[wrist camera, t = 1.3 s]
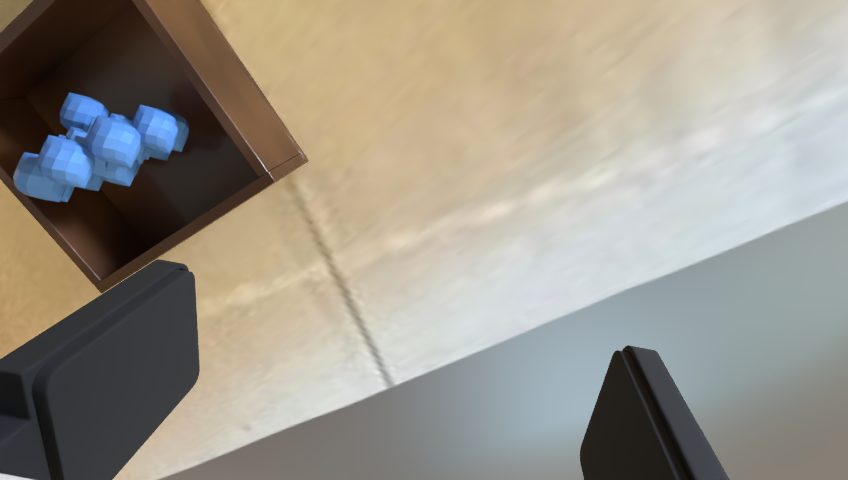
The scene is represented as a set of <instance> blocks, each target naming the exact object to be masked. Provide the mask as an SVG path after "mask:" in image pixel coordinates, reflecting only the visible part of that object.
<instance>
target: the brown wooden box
mask: <svg viewBox="0 0 848 480" xmlns="http://www.w3.org/2000/svg"><path fill="white" fill-rule="evenodd" d="M69 92H70V93H74V94H79V95H83V96H86V97H90V98H92V99H95V100H97V101H99V102H101V103H102V104H103V105H104V106H105V107H106V108H107V110H108V111H109V117H110V115H111V113H113V114H118V115H120V114H122V115H125V116H129V117H131V118H134V116H135V114H136V112H137V110H138V108H139V106H140V105H144V106H148V107H152V108H155V107H156V108H160V109H164V110H168V111H172V112H174V113H176V114H179V115H181V116H182V117H183V118H185V119H186V121H187V122H188V124H189V134H188V139H187V141H186V143H185V145H184V147H183V150H182V152H179V151H174V150H172V151H171V153H170V156H169V158H168V160H167V161H165V160H160V159H156V158H152V157H149V159H148V160H146V159H144V161H143V163H142V164H141V166H140V168H139V170H138V172H137V174H136V176H135V177H134V179H133V181H132V183H131V185H130V187H129V186H123V185H118V184H115V183H111V182H108V181H103V183H102V185H101V187H100V189H99V191H94V190H88V189H84V188H79V187H75V188H74V190H73V192H72V195H71V197H70V198H69V200H68V202H63V201H60V202H55V201H48V200H43V199H39V198H35V197H31V196H28V195H25V194H24V193H22V192H21V191H19V190H18V189H17V188H16V186H15V185H14V180H13V176H14V173H15V170H16V168H17V165H18V163H19V160H20V159H21V157H22V155H23V154H24V152H27V153H33V154H38V155H39V154H40V152H41V149H42V147H43V144H44V142H45V141H46V139H47V137H48V136H49V135H52V136H57V137H59V134H60V135H63V136H66V134H67V132H68V130H67V129H66V128H65V127H64V126H63V125H62V124H61V123H60V111H61V108H62V106H63V103H64V101H65V99H66V97H67V96H68V94H69ZM306 162H308V159H307V158H306V156H305V155H304V153H303V152H302V150H301V149H300V147H299V146H298V144H297V143H296V141H295V140H294V139H293V137H292V136H291V134H290V133H289V131H288V130H287V128H286V127H285V125H284V124H283V122H282V121H281V119H280V118H279V117H278V115H277V114H276V112H275V111H274V109H273V108H272V106H271V105H270V103H269V102H268V100H267V99H266V97H265V96H264V94H263V93H262V92H261V90H260V89H259V87H258V86H257V84H256V83H255V81H254V80H253V78H252V77H251V75H250V74H249V72H248V71H247V70H246V68H245V67H244V65H243V64H242V62H241V61H240V59H239V58H238V56H237V55H236V53H235V52H234V50H233V49H232V47H231V46H230V45H229V43H228V42H227V40H226V39H225V37H224V36H223V34H222V33H221V31H220V30H219V28H218V27H217V25H216V24H215V23H214V21H213V20H212V18H211V17H210V15H209V14H208V12H207V11H206V9H205V8H204V6H203V5H202V3H201V2H200V1H199V0H34V1H33V2H32V3H31V4H30V5H29V6H28V7H27V8H26V9H25V10H23V11H22V12H21V13H20V14H19V15H18V16H17V17H16V18H15V19H14V20H13V21H12V22H11V23H10V24H9V25H8V26H7V27H6V28H5V29H4V30H3V31H2V32H1V33H0V179H1V180H2V181H3V183H4V184H5V185H6V186H7V187H8V188H9V189H10V190H11V192H12V193H13V194H14V195H15V196H16V197H17V198H18V200H19V201H20V202H21V203H22V204H23V205H24V206H25V207H26V209H27V210H28V211H29V212H30V213H31V214H32V215H33V216H34V218H35V219H36V220H37V221H38V222H39V223H40V224H41V226H42V227H43V228H44V229H45V230H46V231H47V232H48V233H49V235H50V236H51V237H52V238H53V239H54V240H55V241H56V243H57V244H58V245H59V246H60V247H61V248H62V249H63V250H64V252H65V253H66V254H67V255H68V256H69V257H70V258H71V259H72V261H73V262H74V263H75V264H76V265H77V266H78V267H79V269H80V270H81V271H82V272H83V273H84V274H85V275H86V276H87V278H88V279H89V280H90V281H91V282H92V283H93V284H94V285H95V287H96V288H97V289H98V290H99V291H100V292H101V293H103V292H105V291H106V290H108V289H110V288H111V287H113V286H114V285H116V284H117V283H119V282H121V281H122V280H124V279H125V278H127V277H128V276H130V275H132V274H133V273H135V272H136V271H138V270H139V269H141V268H143V267H144V266H146V265H147V264H149V263H150V262H152V261H154V260H155V259H157V258H158V257H160V256H161V255H163V254H164V253H166V252H168V251H169V250H171V249H172V248H174V247H175V246H177V245H178V244H180V243H182V242H183V241H185V240H186V239H188V238H189V237H191V236H193V235H194V234H196V233H197V232H199V231H200V230H202V229H203V228H205V227H207V226H208V225H210V224H211V223H213V222H214V221H216V220H217V219H219V218H221V217H222V216H224V215H225V214H227V213H228V212H230V211H231V210H233V209H235V208H236V207H238V206H239V205H241V204H242V203H244V202H245V201H247V200H249V199H250V198H252V197H253V196H255V195H256V194H258V193H260V192H261V191H263V190H264V189H266V188H267V187H269V186H270V185H272V184H274V183H275V182H277V181H278V180H280V179H281V178H283V177H284V176H286V175H288V174H289V173H291V172H292V171H294V170H295V169H297V168H298V167H300V166H302V165H303V164H305V163H306Z"/></svg>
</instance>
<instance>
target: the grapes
mask: <svg viewBox="0 0 848 480" xmlns="http://www.w3.org/2000/svg"><path fill="white" fill-rule="evenodd" d="M60 123H61V124H62V125H63V126H64V127H65V128H66V129H67V130H68V132H67V134H66V136H63V135H60V134H59V137H57V136H52V135H49V136H48V137H47V139H46V141H45V142H44V144H43V147H42V149H41V152H40V154H39V155H38V154H33V153H27V152H24V154H23V155H22V157H21V159H20V160H19V163H18V165H17V168H16V170H15V173H14V176H13V180H14V185H15V186H16V188H17V189H18V190H19V191H21V192H22V193H24V194H25V195H28V196H31V197H35V198H39V199H43V200H48V201H55V202H60V201H63V202H68V200H69V198H70V197H71V195H72V192H73V190H74V188H75V187H79V188H84V189H88V190H94V191H99V189H100V187H101V185H102V183H103V181H108V182H111V183H115V184H118V185H123V186H129V187H130V185H131V183H132V181H133V179H134V177H135V176H136V174H137V172H138V170H139V168H140V166H141V164H142V163H143V161H144V159H146V160H148V159H149V157H152V158H156V159H160V160H165V161H167V160H168V158H169V156H170V153H171V151H172V150H174V151H179V152H182V150H183V147H184V145H185V143H186V141H187V139H188V134H189V124H188V122H187V121H186V119H185V118H183V117H182V116H181V115H179V114H176V113H174V112H172V111H168V110H164V109H160V108H156V107H155V108H152V107H148V106H144V105H140V106H139V108H138V110H137V112H136V114H135V116H134V118H131V117H129V116H125V115H122V114H120V115H118V114H113V113H111V115H110V117H109V111H108V110H107V108H106V107H105V106H104V105H103V104H102V103H101V102H99V101H97V100H95V99H92V98H90V97H86V96H83V95H79V94H74V93H70V92H69V94H68V96H67V97H66V99H65V101H64V103H63V106H62V108H61V111H60Z"/></svg>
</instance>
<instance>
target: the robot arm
mask: <svg viewBox="0 0 848 480" xmlns="http://www.w3.org/2000/svg"><path fill="white" fill-rule="evenodd" d="M198 376H199V350H198V331H197V312H196V293H195V278H194V274H193V273H192V272H189V270H188V268H187V266H186V265H185V264H181V263H176V262H170V261H165V260H156V261H154V262H152V263H150V264H149V265H147V266H146V267H144V268H143V269H141V270H140V271H138V272H136V273H135V274H133V275H132V276H130V277H129V278H127V279H125V280H124V281H122V282H121V283H119V284H118V285H116V286H114V287H113V288H111V289H110V290H108V291H107V292H105V293H103V294H102V295H100V296H99V297H97V298H96V299H94V300H93V301H91V302H89V303H88V304H86V305H85V306H83V307H82V308H80V309H78V310H77V311H75V312H74V313H72V314H71V315H69V316H67V317H66V318H64V319H63V320H61V321H60V322H58V323H56V324H55V325H53V326H52V327H50V328H49V329H47V330H46V331H44V332H42V333H41V334H39V335H38V336H36V337H35V338H33V339H31V340H30V341H28V342H27V343H25V344H24V345H22V346H20V347H19V348H17V349H16V350H14V351H13V352H11V353H9V354H8V355H6V356H5V357H3V358H2V359H0V480H112V479H113V478H114V477H115V476H116V475H117V474H118V472H119V471H120V470H121V469H122V468H123V467H124V466H125V464H126V463H127V462H128V461H129V460H130V459H131V458H132V456H133V455H134V454H135V453H136V452H137V451H138V449H139V448H140V447H141V446H142V445H143V444H144V443H145V441H146V440H147V439H148V438H149V437H150V436H151V435H152V433H153V432H154V431H155V430H156V429H157V428H158V426H159V425H160V424H161V423H162V422H163V421H164V420H165V418H166V417H167V416H168V415H169V414H170V413H171V412H172V410H173V409H174V408H175V407H176V406H177V405H178V403H179V402H180V401H181V400H182V399H183V398H184V397H185V395H186V394H187V393H188V392H189V391H190V390H191V388H192V387H193V386H194V385H195V383H196V381H197V379H198ZM580 462H581V467H582V472H583V476H584V480H729V478H728V476H727V475H726V473H725V471H724V469H723V467H722V466H721V464H720V462H719V460H718V458H717V457H716V455H715V453H714V451H713V450H712V448H711V446H710V444H709V442H708V441H707V439H706V437H705V436H704V434H703V432H702V430H701V429H700V428H699V425H698V424H697V422H696V420H695V418H694V417H693V415H692V413H691V411H690V409H689V408H688V406H687V404H686V402H685V401H684V399H683V397H682V395H681V393H680V392H679V390H678V388H677V386H676V385H675V383H674V381H673V379H672V377H671V376H670V374H669V372H668V370H667V368H666V367H665V365H664V363H663V361H662V360H661V358H660V356H659V354H658V353H657V352H656V351H654V350H650V349H644V348H639V347H633V346H626V347H625V348H624V349H623V351H615V353H614V354H613V356H612V359H611V362H610V365H609V368H608V370H607V373H606V376H605V379H604V382H603V385H602V388H601V391H600V393H599V396H598V399H597V402H596V405H595V408H594V411H593V413H592V416H591V419H590V422H589V425H588V428H587V431H586V434H585V437H584V439H583V442H582V445H581V450H580Z"/></svg>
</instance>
